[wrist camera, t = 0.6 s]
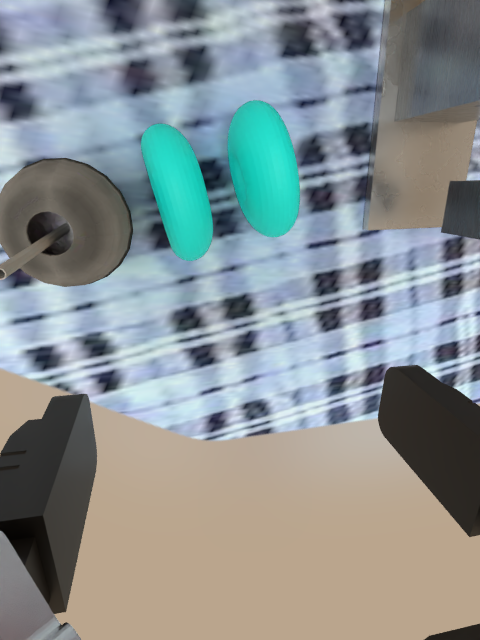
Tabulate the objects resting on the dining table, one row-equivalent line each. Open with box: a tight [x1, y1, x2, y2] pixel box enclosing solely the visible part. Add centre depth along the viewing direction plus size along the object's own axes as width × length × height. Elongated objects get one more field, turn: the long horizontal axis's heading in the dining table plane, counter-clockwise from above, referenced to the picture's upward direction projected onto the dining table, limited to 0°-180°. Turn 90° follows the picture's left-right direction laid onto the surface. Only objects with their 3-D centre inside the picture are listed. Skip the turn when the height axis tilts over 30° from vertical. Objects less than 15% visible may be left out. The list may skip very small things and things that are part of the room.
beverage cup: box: [0, 158, 133, 287], centre depth 23 cm, size 7×7×20 cm
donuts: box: [141, 100, 300, 261], centre depth 29 cm, size 10×10×10 cm
